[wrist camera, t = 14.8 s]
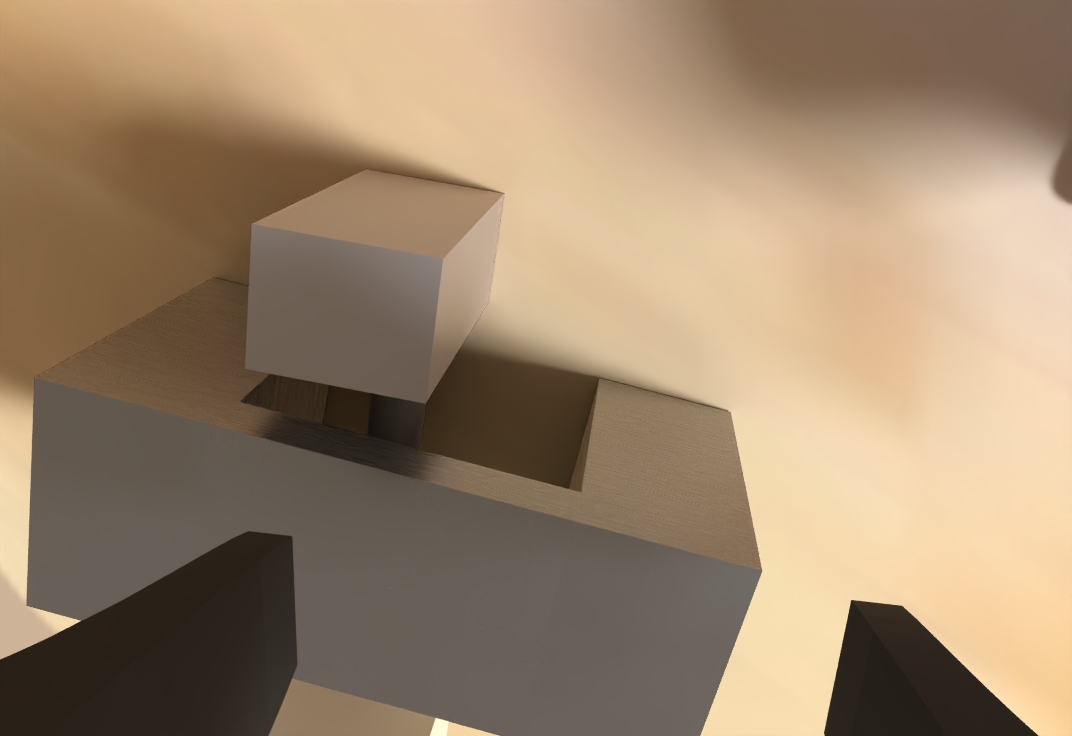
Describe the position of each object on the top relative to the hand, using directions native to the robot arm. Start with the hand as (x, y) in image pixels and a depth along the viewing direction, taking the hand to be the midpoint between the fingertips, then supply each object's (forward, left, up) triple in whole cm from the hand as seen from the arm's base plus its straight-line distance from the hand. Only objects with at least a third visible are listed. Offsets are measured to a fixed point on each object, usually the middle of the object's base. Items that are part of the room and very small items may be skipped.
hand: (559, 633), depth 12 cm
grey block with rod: (+4, +5, -9) cm, 11 cm away
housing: (+3, +2, -9) cm, 10 cm away
